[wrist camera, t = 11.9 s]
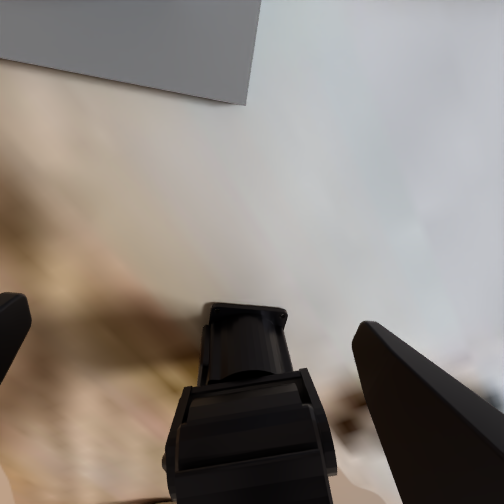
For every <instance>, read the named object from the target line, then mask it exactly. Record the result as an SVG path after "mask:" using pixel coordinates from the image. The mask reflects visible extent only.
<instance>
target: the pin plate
mask: <svg viewBox="0 0 504 504" xmlns="http://www.w3.org/2000/svg"><path fill="white" fill-rule="evenodd" d="M260 5H261V0H0V58H3V59H8V60H13V61H18V62H23V63H28V64H33V65H39V66H44V67H49V68H54V69H59V70H64V71H69V72H74V73H80V74H85V75H90V76H95V77H100V78H105V79H110V80H115V81H121V82H126V83H131V84H136V85H141V86H146V87H151V88H157V89H162V90H167V91H172V92H177V93H182V94H187V95H192V96H198V97H203V98H208V99H213V100H218V101H223V102H228V103H233V104H239V105H244V106H246V99H247V92H248V86H249V79H250V72H251V66H252V59H253V52H254V46H255V39H256V32H257V25H258V19H259V12H260Z"/></svg>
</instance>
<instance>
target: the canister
mask: <svg viewBox="0 0 504 504" xmlns="http://www.w3.org/2000/svg"><path fill="white" fill-rule="evenodd" d="M155 504H177V502H161V503H155Z"/></svg>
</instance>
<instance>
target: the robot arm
mask: <svg viewBox="0 0 504 504" xmlns="http://www.w3.org/2000/svg"><path fill="white" fill-rule="evenodd" d="M215 309H219V310H218V311H216V310H215ZM281 314H283V315H282V316H280V315H281ZM287 317H288V314H287V311H286V310H285V309H279V308H266V307H254V306H242V305H230V304H213V305H212V307H211V312H210V319H209V325H205V326H204V327H203V331H202V339H201V347H200V358H199V370H198V381H197V387H192V386H188V387H184V389H183V392H182V396H181V398H180V399H179V403H178V406H177V409H176V412H175V416H174V419H173V422H172V425H171V429H170V432H169V435H168V438H167V442H166V445H165V453H164V455H163V458H162V468H163V469H164V470H165V471H166V473H167V484H168V490H169V494H170V497H171V499H172V500H173V501H174V502H176V501H177V504H333V501H332V496H331V490H330V485H329V480H328V476H335V475H337V462H336V455H335V450H334V445H333V440H332V436H331V432H330V428H329V424H328V421H327V417H326V414H325V411H324V409H323V406H322V404H321V401H320V399H319V396H318V394H317V391H316V389H315V387H314V384H313V382H312V379H311V377H310V374H309V372H308V369H307V368H303V369H299V371H293V367H292V363H291V359H290V355H289V351H288V347H287V343H286V339H285V335H284V331H283V330H284V327H285V324H286V321H287ZM31 322H32V318H31V314H30V310H29V305H28V301H27V298H26V296H25V295H24V294H22V293H12V292H4V293H1V294H0V385H1V383H2V381H3V379H4V378H5V376H6V374H7V372H8V370H9V368H10V366H11V364H12V362H13V360H14V358H15V356H16V354H17V352H18V350H19V349H20V347H21V345H22V343H23V341H24V339H25V337H26V335H27V333H28V331H29V329H30V327H31ZM352 351H353V354H354V358H355V362H356V366H357V370H358V374H359V378H360V382H361V386H362V390H363V393H364V397H365V400H366V403H367V406H368V409H369V411H370V414H371V417H372V420H373V423H374V425H375V428H376V431H377V434H378V436H379V439H380V442H381V445H382V447H383V450H384V453H385V456H386V458H387V461H388V464H389V467H390V469H391V472H392V475H393V478H394V481H395V483H396V486H397V489H398V492H399V494H400V497H401V500H402V503H403V504H504V414H503V413H502V412H501V411H499V410H498V409H496V408H495V407H494V406H492V405H491V404H489V403H488V402H487V401H485V400H484V399H483V398H481V397H480V396H478V395H477V394H476V393H474V392H473V391H471V390H470V389H469V388H467V387H466V386H465V385H463V384H462V383H460V382H459V381H458V380H456V379H455V378H454V377H452V376H451V375H449V374H448V373H447V372H445V371H444V370H442V369H441V368H440V367H438V366H437V365H436V364H434V363H433V362H431V361H430V360H429V359H427V358H426V357H425V356H423V355H422V354H420V353H419V352H418V351H416V350H415V349H413V348H412V347H411V346H409V345H408V344H407V343H405V342H404V341H402V340H401V339H400V338H398V337H397V336H396V335H394V334H393V333H391V332H390V331H389V330H387V329H386V328H384V327H383V326H382V325H380V324H379V323H377V322H374V321H363V322H361V323H360V325H359V327H358V329H357V332H356V334H355V336H354V338H353V340H352Z"/></svg>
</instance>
